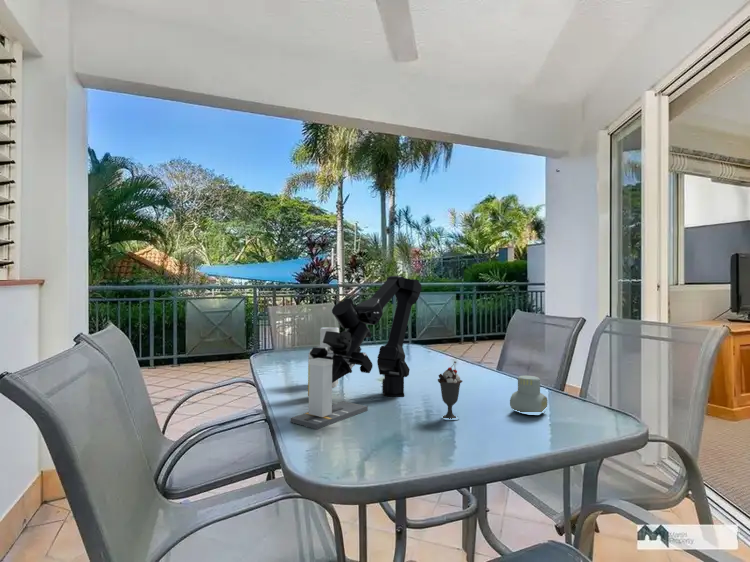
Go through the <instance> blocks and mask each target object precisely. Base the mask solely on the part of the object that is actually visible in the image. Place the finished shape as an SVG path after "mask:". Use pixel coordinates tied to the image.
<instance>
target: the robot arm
mask: <svg viewBox="0 0 750 562" xmlns="http://www.w3.org/2000/svg"><path fill="white" fill-rule="evenodd" d="M421 291H422V284H421V283H420V282H419V280H418V279H414V278H413V279H410V278H407V277H404V276H401V275H390V276H388V277H387V278H386V280H385V281H384V283H383V284H382V285H381V286H380V287H379V289H377V290H376V292H375V293H374V294H373V295H372V296H371V297H370V298H368V299H366V300H363V301H361V302H359V304H357V305H356V306H355V305H354V303H353V302H354V301H353V300H352V298H344V299H343V300H342V301H340V302H338V303H337V304H336V305H334V306H333V307H332V310H331V313H332V314H333V316H334V318H335V319H336V321H337V322H338V324H339V325H340V326H341V328H343V329H346V330H345V331H344V330H343V331H342V332H339V333H338V332H330V331H326V333H325V336H324V339H323V343H326V344H328V345H329V346H330V350H331V351H333V352H328V351H327V350H326V349H325V348H320V347H317V346H315V347H312V350H311V349H310V350H311V352H310V351H309V352H310V355H311V356H312V357H313V359H315V358H324V359H331V360H333V364H332V383H333V382H335V381H336V380H338V381H339V380H340V378H343V377H344V376H346V375H348V374H351V373H353V370H352V369H353V367H356V365H357V366H360V367H359V371H360V372H361V373H365V374H370V373H371V371H372V369H373V366H374V365H373V362H372V361H371V359H370V357H369V356H368V354H367V353H366V352H363V351H362V348H361V345H362V344H363V342H364V340H365V339H366V338H369V339H370V338H372V332H371V330H370V327H368V326H367V325H373V326H375V325H377V324H378V323H379V322H380V320H381V318H382V317H383V315H384V313H383V309H384V308H385V307H386V306H387V304H388V303H389V302H390V301H391V300H392V298H394V296H395V299H396V301H397V303H396V308H395V312H394V315H393V319H392V323H391V328H390V332H389V335H388V341H387V343H386V344H385V345H381V346H380V347H379V350H378V351H379V352H378V355H377V360H376V362H377V363H376V364H377V368H378V373H379V375H383V376H384V378H383V379H382V393H383V396H384V397H405V378H408V377H409V376H410V367H409V366H408V364H407V362H406V361H405V360H406V354H405V351H404V348H403V346H404V341H405V335H406V332H407V330H408V329H407V328H408V324H409V319H410V315H411V312H412V311H411V310H412V308H413V307H412V306H413V305H414V304H415V303H416V302H417V301H418V299H420V294H421ZM361 351H362V352H361Z"/></svg>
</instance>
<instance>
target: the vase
mask: <svg viewBox="0 0 750 562" xmlns="http://www.w3.org/2000/svg"><path fill="white" fill-rule="evenodd" d="M326 331H330V332H338V333H340V327H335V326H334V327H333V326H327V327H320V333H319V334H320V335H319V336H320V337H319V345H318V346H316V347H320V348H325V349H326V350H327V351H328V352H333V351H331V350H330V346H329V345H328V344H326V343H323V339H324V336H325V333H326ZM338 385H339V379H338V380H336V381H335V382H333V383H332V388H337V386H338Z"/></svg>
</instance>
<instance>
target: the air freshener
mask: <svg viewBox="0 0 750 562" xmlns="http://www.w3.org/2000/svg"><path fill="white" fill-rule="evenodd" d="M509 405H510V409H512V410H513V409H514V410H517V411H520V412H542V411H543V410H544V409H545V408H546V407H547V408H548V397H547V396H546V395H545V394H543V393H541V378H539V377H538V376H534V375H519V376H518V377H517V390H516V391H514V392H513V393H512V394H511V396H510V400H509ZM514 410H513V411H514Z"/></svg>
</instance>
